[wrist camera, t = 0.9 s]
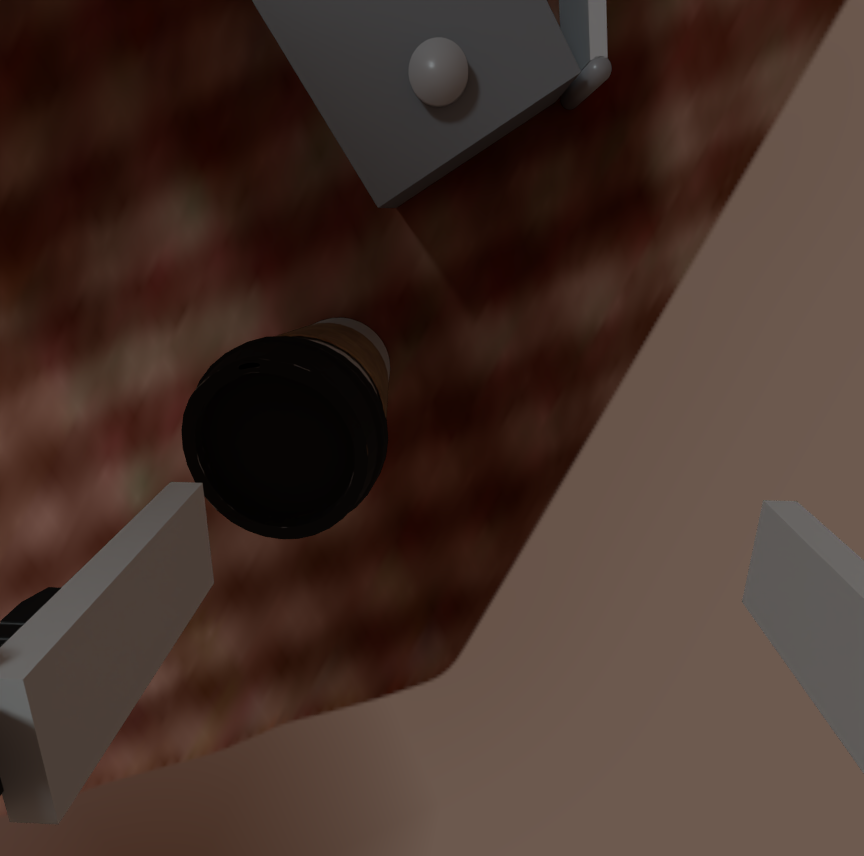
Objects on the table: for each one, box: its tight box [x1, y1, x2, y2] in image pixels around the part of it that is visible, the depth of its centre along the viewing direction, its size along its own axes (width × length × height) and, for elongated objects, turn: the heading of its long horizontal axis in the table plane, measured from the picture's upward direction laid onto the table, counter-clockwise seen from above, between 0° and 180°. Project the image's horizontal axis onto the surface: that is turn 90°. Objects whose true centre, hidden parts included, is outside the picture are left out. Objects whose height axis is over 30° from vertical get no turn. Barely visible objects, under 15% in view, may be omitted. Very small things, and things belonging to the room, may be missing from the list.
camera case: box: [252, 0, 581, 208], centre depth 29 cm, size 14×10×9 cm
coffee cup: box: [182, 318, 390, 539], centre depth 32 cm, size 8×8×15 cm
